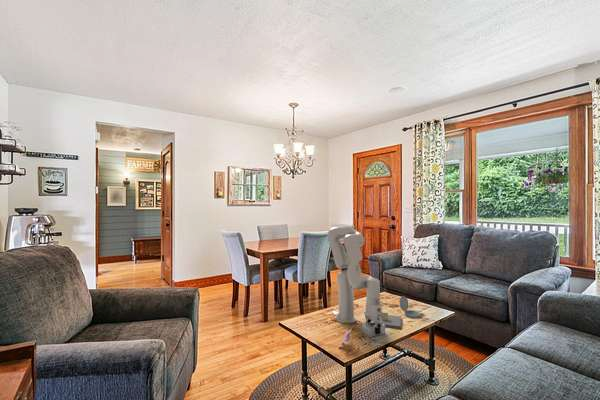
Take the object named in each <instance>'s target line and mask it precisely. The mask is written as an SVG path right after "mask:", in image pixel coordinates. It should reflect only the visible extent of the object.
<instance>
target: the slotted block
mask: <svg viewBox="0 0 600 400" xmlns="http://www.w3.org/2000/svg"><path fill="white" fill-rule="evenodd" d="M377 321H378V320H377ZM377 325H378V323H377ZM375 327H376V325H375V322H373V321H371V322H362V323H361V333H363V334H364V335H366V336H367V337H368V338H372V337H376V336H381V335H385V334H386V327H385V324H383V325H382V326H381V327H380V331H381V333H380V334H377V335H376V334H375Z"/></svg>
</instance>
